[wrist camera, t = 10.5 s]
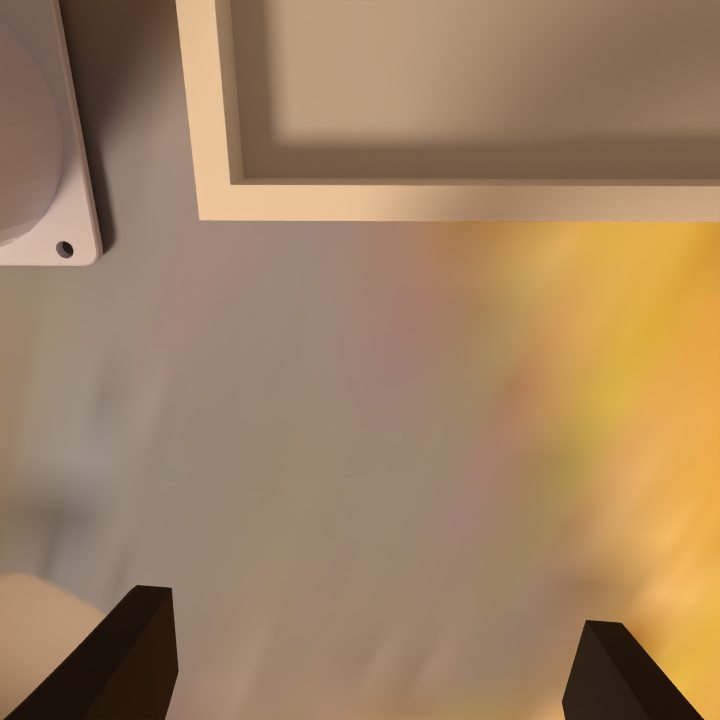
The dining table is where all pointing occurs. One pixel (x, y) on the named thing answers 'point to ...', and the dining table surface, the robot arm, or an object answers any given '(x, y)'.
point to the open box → (454, 109)
